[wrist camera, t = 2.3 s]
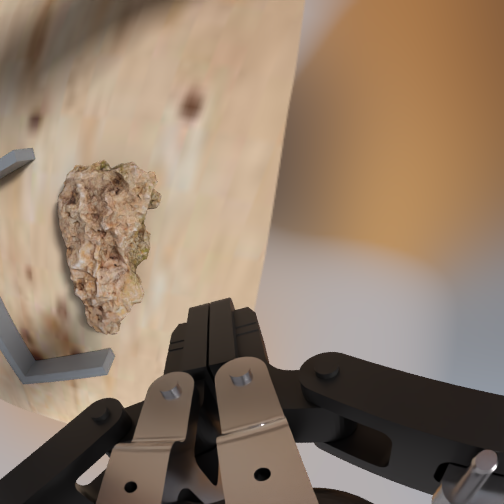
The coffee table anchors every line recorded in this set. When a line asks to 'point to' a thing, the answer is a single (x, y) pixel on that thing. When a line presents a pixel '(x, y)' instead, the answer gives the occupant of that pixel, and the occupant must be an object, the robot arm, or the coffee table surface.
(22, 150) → the bracket
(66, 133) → the coffee table surface
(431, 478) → the robot arm
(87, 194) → the rock
